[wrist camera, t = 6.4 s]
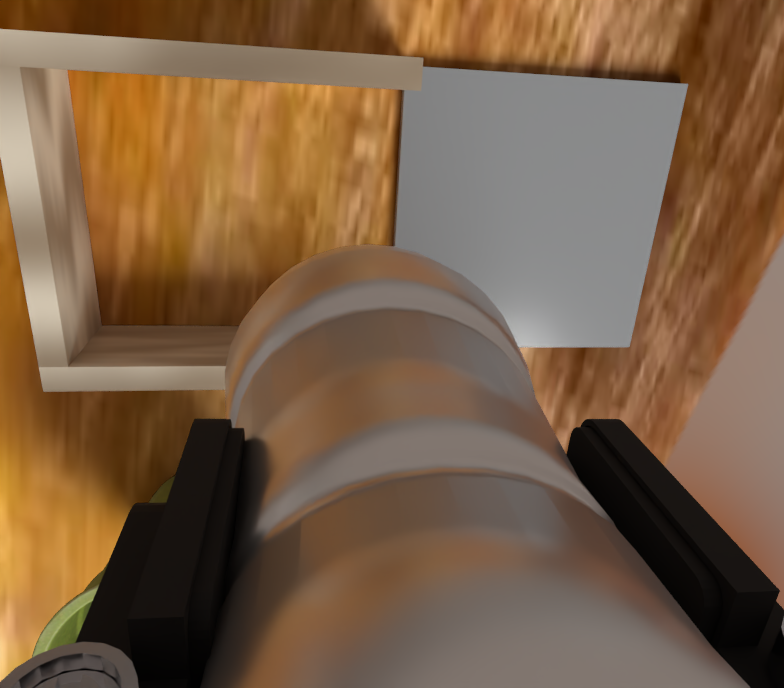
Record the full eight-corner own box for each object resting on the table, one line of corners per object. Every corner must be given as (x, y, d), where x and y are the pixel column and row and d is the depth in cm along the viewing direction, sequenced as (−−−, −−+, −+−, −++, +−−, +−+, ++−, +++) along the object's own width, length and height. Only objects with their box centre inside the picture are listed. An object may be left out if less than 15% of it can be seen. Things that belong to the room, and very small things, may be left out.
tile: (403, 65, 29) (405, 65, 28) (681, 83, 31) (688, 84, 30) (387, 343, 34) (388, 347, 34) (624, 342, 36) (629, 346, 36)
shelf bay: (32, 35, 26) (-24, 27, 22) (404, 60, 29) (423, 57, 24) (80, 346, 32) (43, 391, 27) (387, 346, 34) (400, 387, 30)
